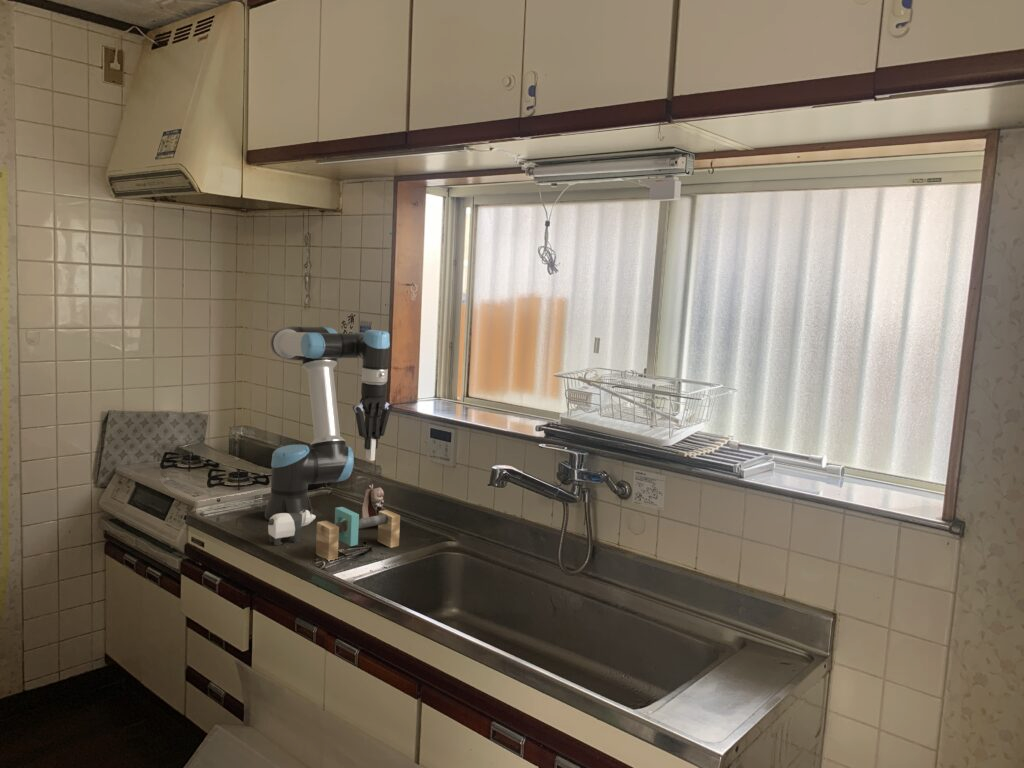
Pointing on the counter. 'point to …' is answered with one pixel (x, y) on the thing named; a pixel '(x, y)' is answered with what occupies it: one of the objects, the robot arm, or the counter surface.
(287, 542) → the counter surface
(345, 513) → the collar
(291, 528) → the giant panda
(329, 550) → the pipe stand
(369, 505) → the toy
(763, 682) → the counter surface
